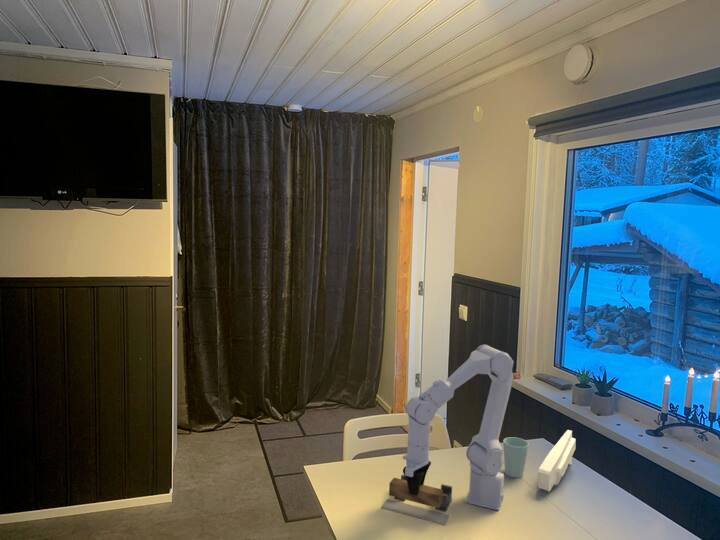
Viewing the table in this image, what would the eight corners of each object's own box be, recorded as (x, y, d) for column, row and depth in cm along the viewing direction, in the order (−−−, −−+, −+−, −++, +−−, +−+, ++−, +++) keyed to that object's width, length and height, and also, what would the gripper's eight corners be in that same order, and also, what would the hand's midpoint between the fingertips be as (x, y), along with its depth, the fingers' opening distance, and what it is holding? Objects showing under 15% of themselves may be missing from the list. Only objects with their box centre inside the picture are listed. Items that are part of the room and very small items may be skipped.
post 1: (411, 491, 158) (411, 476, 157) (404, 501, 152) (405, 485, 152) (401, 489, 159) (402, 474, 158) (394, 498, 153) (394, 483, 153)
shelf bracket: (578, 466, 178) (578, 432, 175) (552, 511, 159) (552, 474, 156) (561, 461, 181) (561, 428, 178) (534, 505, 163) (534, 468, 159)
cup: (521, 468, 175) (523, 437, 174) (530, 479, 167) (532, 447, 166) (498, 467, 175) (500, 436, 174) (506, 479, 167) (508, 447, 166)
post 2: (451, 501, 153) (452, 486, 152) (445, 511, 147) (446, 496, 147) (441, 498, 154) (441, 483, 154) (435, 509, 149) (436, 493, 148)
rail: (442, 502, 145) (442, 489, 145) (438, 508, 142) (439, 495, 142) (393, 489, 151) (394, 477, 150) (388, 495, 148) (389, 482, 147)
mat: (449, 515, 145) (449, 514, 145) (445, 525, 141) (445, 524, 141) (387, 499, 153) (387, 498, 153) (380, 508, 148) (381, 507, 148)
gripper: (412, 430, 153) (410, 476, 154) (394, 449, 140) (392, 499, 141) (436, 435, 150) (434, 481, 151) (421, 455, 137) (418, 506, 138)
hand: (416, 490), depth 146 cm, fingers closed on rail, 3 cm apart
